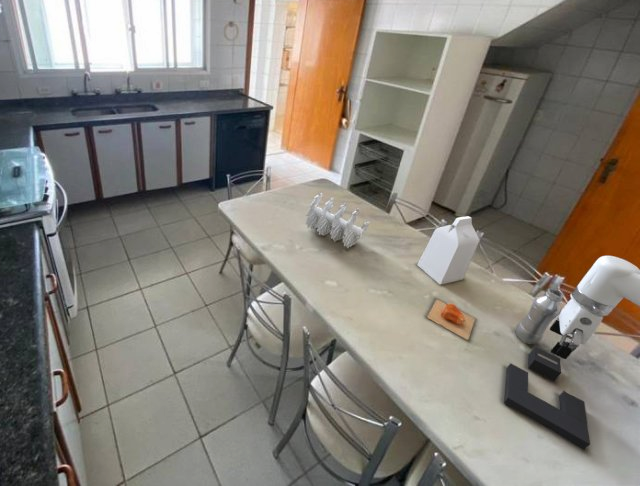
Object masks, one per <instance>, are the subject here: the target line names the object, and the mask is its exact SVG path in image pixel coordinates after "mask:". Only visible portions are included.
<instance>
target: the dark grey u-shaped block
mask: <svg viewBox="0 0 640 486" xmlns="http://www.w3.org/2000/svg"><path fill="white" fill-rule="evenodd" d="M505 372H506V373H505V381H504V382H505V383H504V394H503V395H504V396H503V404H505V405H506V406H508V407H510V408H512V409H513V410H515V411H516V412H518V413H521V414H522V415H523V416H525V417H527V418H529V419H530V420H532V421H534V422H536V423H537V424H539V425H541V426H543V427H544V428H546V429H548V430H550V431H551V432H553V433H555V434H557V435H558V436H560V437H561V438H563V439H565V440H566V441H568V442H570V443H572V444H573V445H576V446H577V447H579V448H581V449H582V450H586V449H587V448H589V446H590V445H591V440H590V433H589V426H588V417H587V411H586V404H585V401H584V400H583V399H580V398H579V397H577V396H574V395H573V394H571V393H569V392H567V391H566V390H563V391H562V392H561V393H560V394H559V395H558V402H559V408H558V407H556V406H554V404H553V405H552V404H551V403H549V402H547V401H545V400H544V399H542V398H541V397H538V396H536V395H534V394H532V393H531V392H529V372H528V371H526V370H524V369H522V368H521V367H519V366H517V365H515V364H513V363H511V362H510V363H509V364H508V366H507V367H506V371H505Z"/></svg>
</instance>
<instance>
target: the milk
mask: <svg viewBox="0 0 640 486" xmlns="http://www.w3.org/2000/svg"><path fill="white" fill-rule="evenodd" d="M472 221H473V217H471V216H469V215H466V216H459V217H456V218H455V220H454V221H453V222H452V224H448V225H444V226H439V227H437V228H435V229H434V231H433V233H432V235H431V237H430V239H429V241H428V242H427V245H426V247H425V249H424V251H423V253H422V255H421V257H420V258H419V261H418V262H417V266H418V267H419V268H420V269H421V270H422V271H423V272H424V273H426V274H427V275H428V276H429V277H430V278H431V279H433V280H434V281H435V282H436V283H437V284H438V285H439V286H440V285H445V284H449V283H454V282H457V281H463V280H464V278H465V276H466V273H467V271H468V269H469V267H470V264H471V262H472V260H473V258H474V255H475V253H476V251H477V248H478V245H479V244H480V239H479V236H478V234H477V232H476V230H475V228H474V226H473V224H472Z"/></svg>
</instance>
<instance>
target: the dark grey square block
mask: <svg viewBox="0 0 640 486" xmlns="http://www.w3.org/2000/svg"><path fill="white" fill-rule="evenodd" d="M527 369H528V370H530V371H532V372H534V373H536V374H538V375H540V376H541V377H543V378H545V379H547V380H550V381H551V382H556V380H557V379H558V378H559V377H560V376H561V374H562V363H561V357H559V356H557V355H555V354H553V353H551V352H550V353H549V352H547V351H546V350H543V349H541V348H540V347H538V346H535V345H534V346H533V348H532V349H531V350H530V352H529V353H528V355H527Z"/></svg>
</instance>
